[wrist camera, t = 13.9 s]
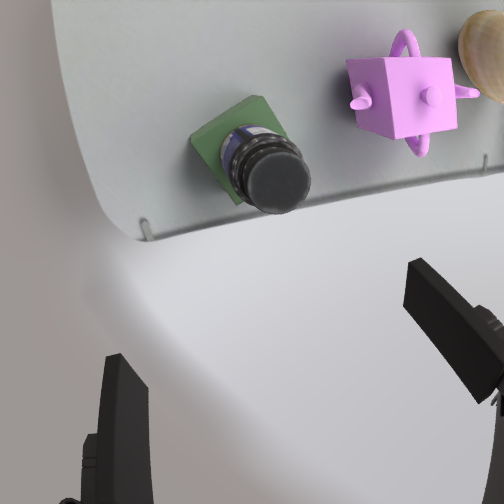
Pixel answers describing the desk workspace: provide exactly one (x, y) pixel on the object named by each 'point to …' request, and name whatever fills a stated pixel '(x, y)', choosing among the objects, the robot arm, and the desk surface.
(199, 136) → the block
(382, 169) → the desk surface
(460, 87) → the teapot
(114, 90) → the desk surface
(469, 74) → the decorative ball
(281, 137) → the pill bottle
